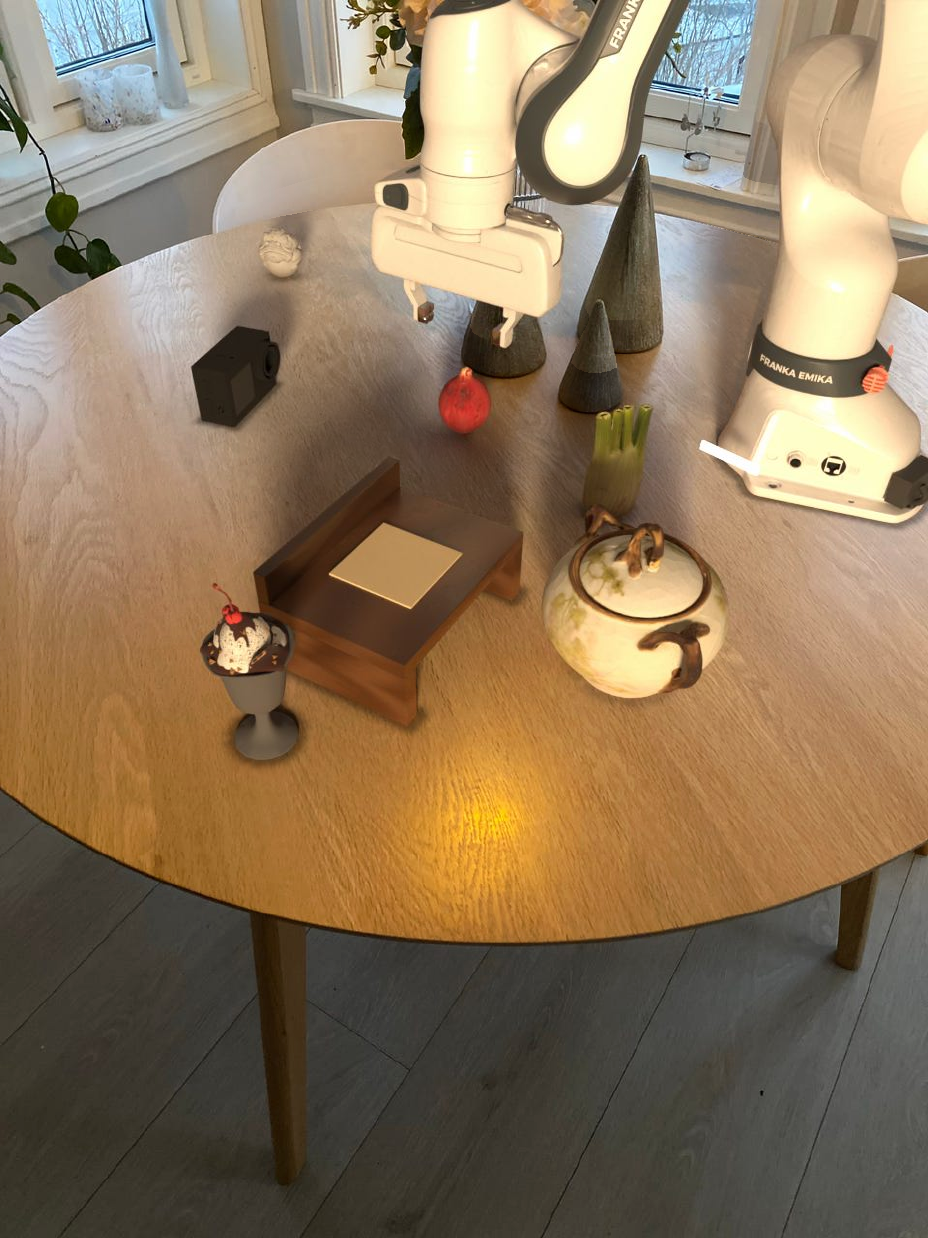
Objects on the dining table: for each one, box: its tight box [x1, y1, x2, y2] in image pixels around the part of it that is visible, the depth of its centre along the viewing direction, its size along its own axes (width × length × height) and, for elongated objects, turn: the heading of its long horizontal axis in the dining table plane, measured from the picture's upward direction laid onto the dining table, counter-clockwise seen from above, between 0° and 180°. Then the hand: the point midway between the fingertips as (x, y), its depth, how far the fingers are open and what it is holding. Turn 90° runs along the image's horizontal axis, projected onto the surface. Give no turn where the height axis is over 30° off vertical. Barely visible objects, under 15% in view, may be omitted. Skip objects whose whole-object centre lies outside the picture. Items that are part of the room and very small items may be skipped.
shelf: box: [252, 455, 525, 728], centre depth 81 cm, size 14×19×10 cm
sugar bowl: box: [541, 504, 731, 699], centre depth 77 cm, size 20×15×15 cm
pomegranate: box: [437, 366, 492, 435], centre depth 105 cm, size 6×6×8 cm
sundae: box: [199, 582, 299, 761], centre depth 70 cm, size 7×7×15 cm
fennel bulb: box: [581, 404, 654, 520], centre depth 93 cm, size 6×5×12 cm
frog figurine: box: [257, 227, 303, 278], centre depth 135 cm, size 6×7×7 cm
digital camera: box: [190, 325, 281, 428], centre depth 109 cm, size 10×5×7 cm, turn 161°
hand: (462, 332), depth 99 cm, fingers open, 8 cm apart
